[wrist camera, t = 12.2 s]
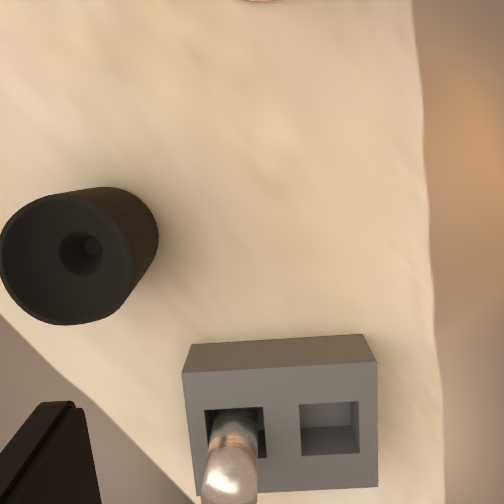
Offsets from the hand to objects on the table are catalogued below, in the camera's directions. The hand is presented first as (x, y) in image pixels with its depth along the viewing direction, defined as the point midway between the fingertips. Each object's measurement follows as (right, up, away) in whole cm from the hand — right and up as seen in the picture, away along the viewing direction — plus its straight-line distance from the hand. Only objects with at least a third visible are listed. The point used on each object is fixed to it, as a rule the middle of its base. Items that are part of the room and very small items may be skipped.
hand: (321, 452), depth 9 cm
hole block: (+1, -10, +36) cm, 37 cm away
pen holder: (-14, +6, +32) cm, 36 cm away
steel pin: (-3, -11, +34) cm, 36 cm away
